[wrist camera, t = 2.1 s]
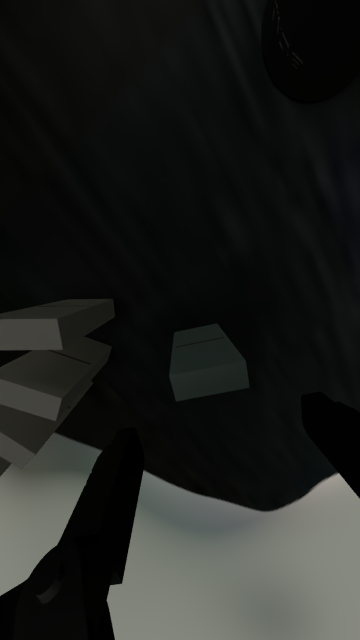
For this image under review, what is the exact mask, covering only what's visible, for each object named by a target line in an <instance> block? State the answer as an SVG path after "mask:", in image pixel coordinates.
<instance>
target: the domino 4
mask: <svg viewBox="0 0 360 640" xmlns="http://www.w3.org/2000/svg"><path fill="white" fill-rule="evenodd" d="M169 377H170V380H171V384H172V388H173V392H174V395H175V399H176V401H181V400H186V399H191V398H196V397H202V396H207V395H212V394H218V393H223V392H228V391H234V390H239V389H244V388H249V381H248V374H247V367H246V361H245V359H244V358H243V357H242V355H241V354H240V353H239V351H238V350H237V349H236V347H235V346H234V345H233V344H232V342H231V341H230V340H229V338H228V337H227V336H226V334H225V333H224V332H223V330H222V329H221V328H220V327H219V325H218V324H217V323H216V324H212V325H207V326H202V327H197V328H193V329H188V330H183V331H178V332H174V339H173V348H172V356H171V365H170V374H169Z"/></svg>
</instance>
